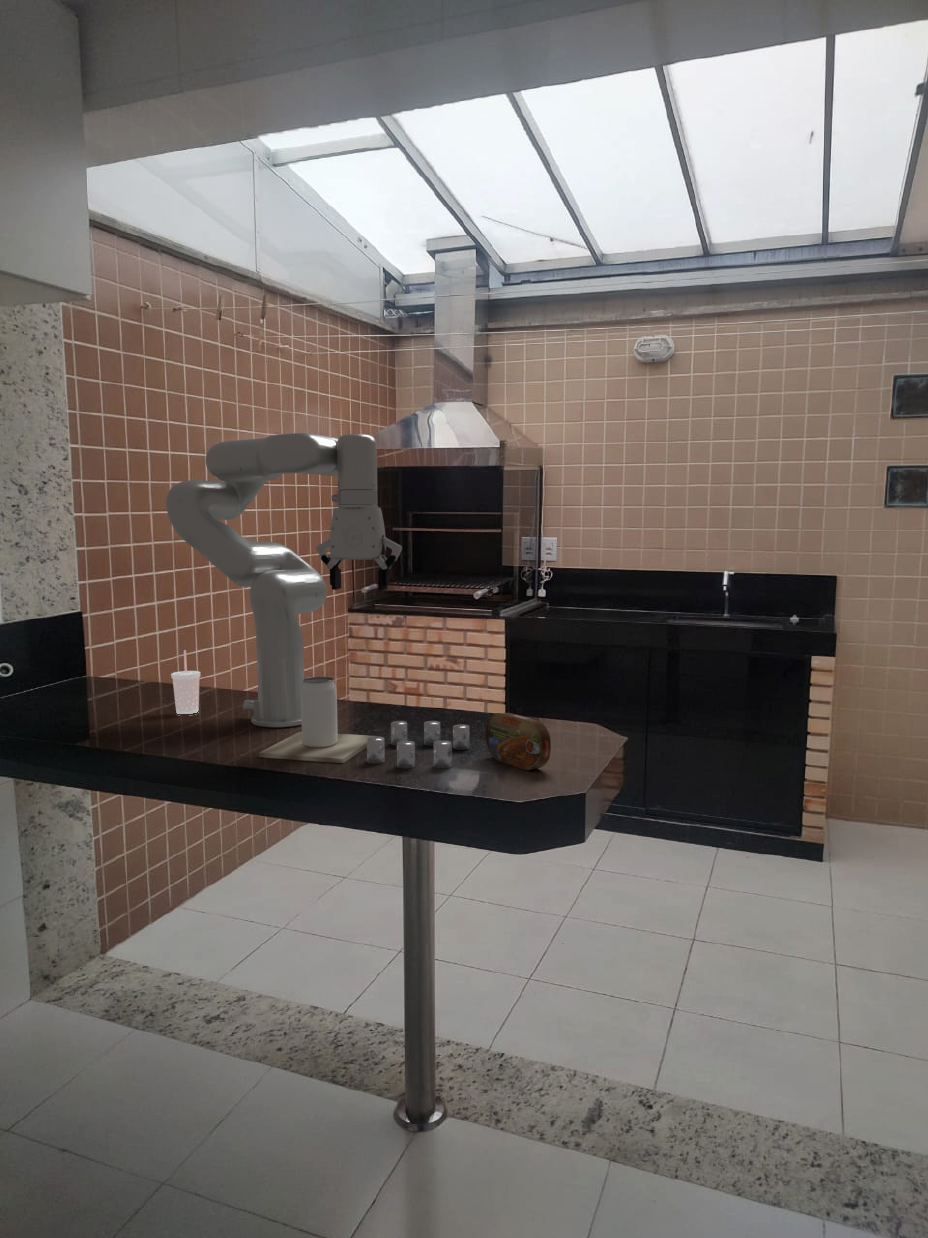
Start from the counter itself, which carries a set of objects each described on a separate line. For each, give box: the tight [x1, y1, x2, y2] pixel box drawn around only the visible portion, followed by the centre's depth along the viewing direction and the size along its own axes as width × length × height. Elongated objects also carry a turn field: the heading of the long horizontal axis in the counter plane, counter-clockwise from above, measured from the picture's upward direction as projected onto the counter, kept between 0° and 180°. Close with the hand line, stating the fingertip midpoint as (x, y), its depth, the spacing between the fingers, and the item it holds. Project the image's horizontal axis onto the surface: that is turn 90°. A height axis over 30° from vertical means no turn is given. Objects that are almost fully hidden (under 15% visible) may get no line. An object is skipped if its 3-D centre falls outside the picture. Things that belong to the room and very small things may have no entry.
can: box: [300, 676, 339, 748], centre depth 148 cm, size 6×6×12 cm
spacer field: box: [366, 720, 470, 770], centre depth 144 cm, size 15×18×4 cm
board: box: [258, 730, 376, 764], centre depth 149 cm, size 16×16×1 cm
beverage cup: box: [170, 649, 201, 715], centre depth 178 cm, size 6×6×14 cm
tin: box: [485, 712, 552, 771], centre depth 138 cm, size 15×3×8 cm, turn 35°
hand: (359, 589), depth 157 cm, fingers open, 9 cm apart
